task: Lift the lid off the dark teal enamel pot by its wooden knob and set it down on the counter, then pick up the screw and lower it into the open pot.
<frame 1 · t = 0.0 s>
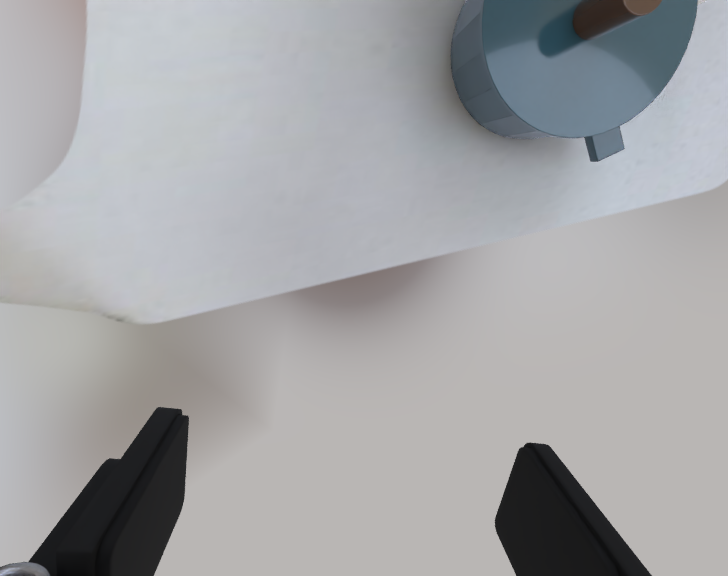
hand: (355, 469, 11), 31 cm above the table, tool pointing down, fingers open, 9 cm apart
pot: (529, 52, 37), on the table
lid: (586, 21, 29), point 8 cm above the table, touching pot
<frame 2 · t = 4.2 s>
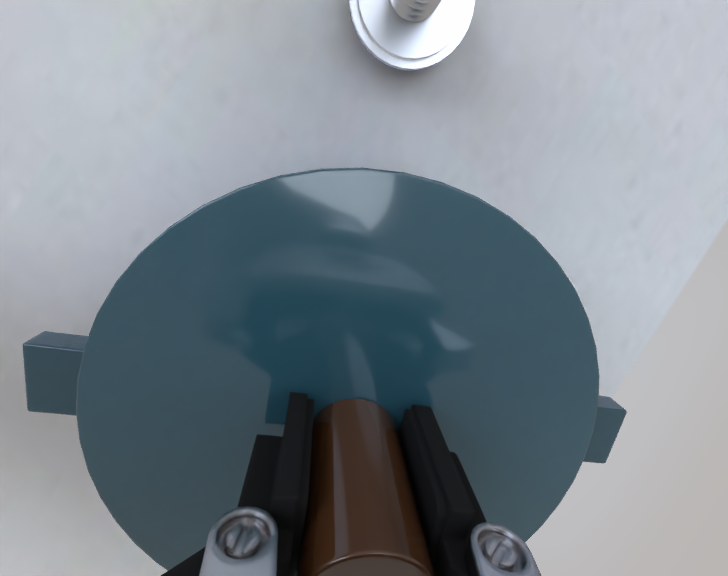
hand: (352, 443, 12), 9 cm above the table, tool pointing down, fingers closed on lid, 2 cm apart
pot: (342, 324, 21), on the table
lid: (351, 424, 13), point 9 cm above the table, touching gripper, pot
screw: (402, 18, 17), on the table
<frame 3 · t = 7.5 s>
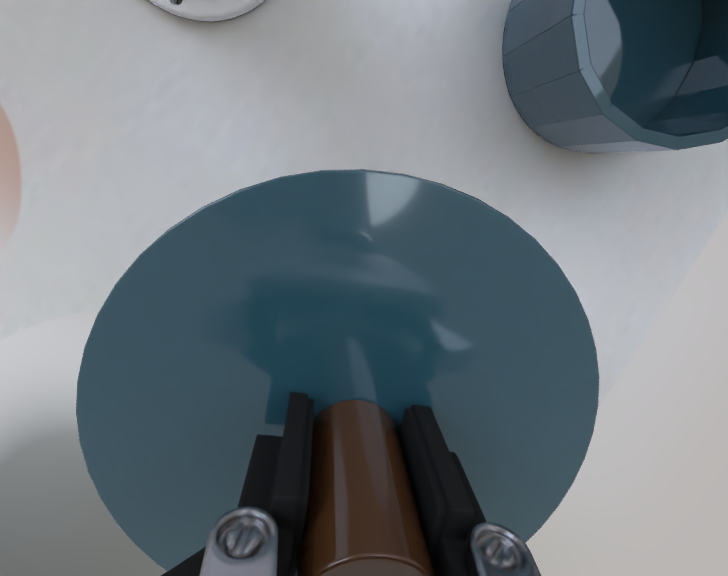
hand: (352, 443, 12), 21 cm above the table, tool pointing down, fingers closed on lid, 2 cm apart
pot: (604, 41, 28), on the table
lid: (351, 425, 13), point 20 cm above the table, touching gripper
when the fingers open (1 cm above the table, at t = 11.2 s): lid stays where it is, point 1 cm above the table.
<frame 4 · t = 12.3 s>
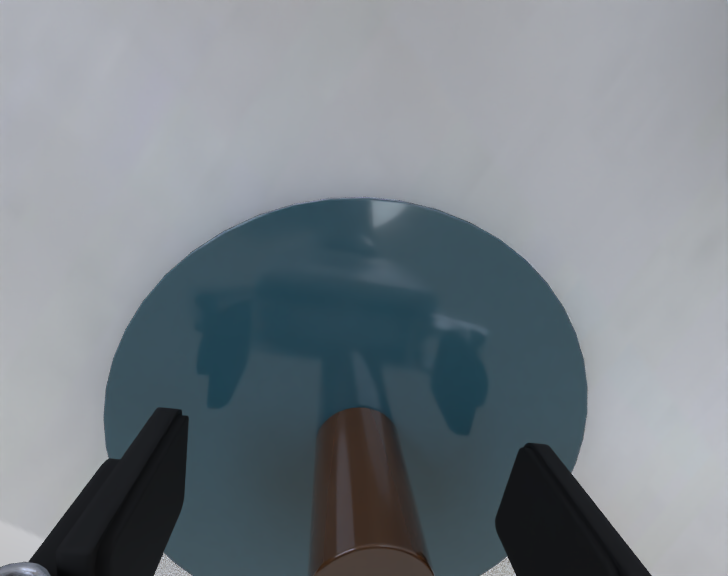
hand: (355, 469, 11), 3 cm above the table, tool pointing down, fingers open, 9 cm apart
lid: (356, 431, 14), point 1 cm above the table
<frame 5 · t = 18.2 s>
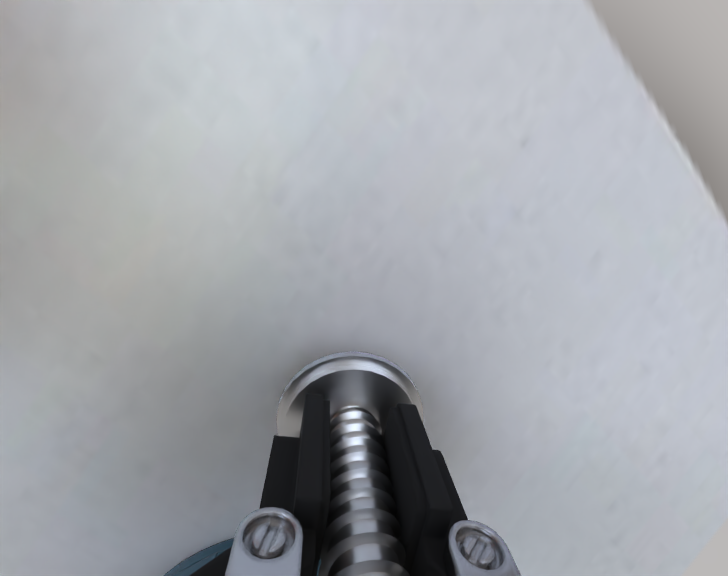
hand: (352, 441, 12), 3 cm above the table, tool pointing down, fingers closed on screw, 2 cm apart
screw: (347, 385, 15), on the table, touching gripper
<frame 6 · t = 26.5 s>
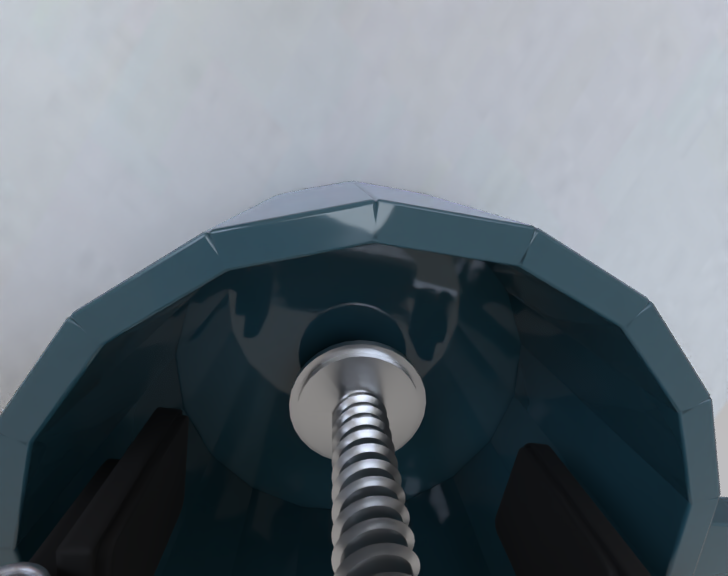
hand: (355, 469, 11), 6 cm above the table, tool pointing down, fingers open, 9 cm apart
pot: (353, 369, 16), on the table
screw: (354, 373, 16), resting on pot
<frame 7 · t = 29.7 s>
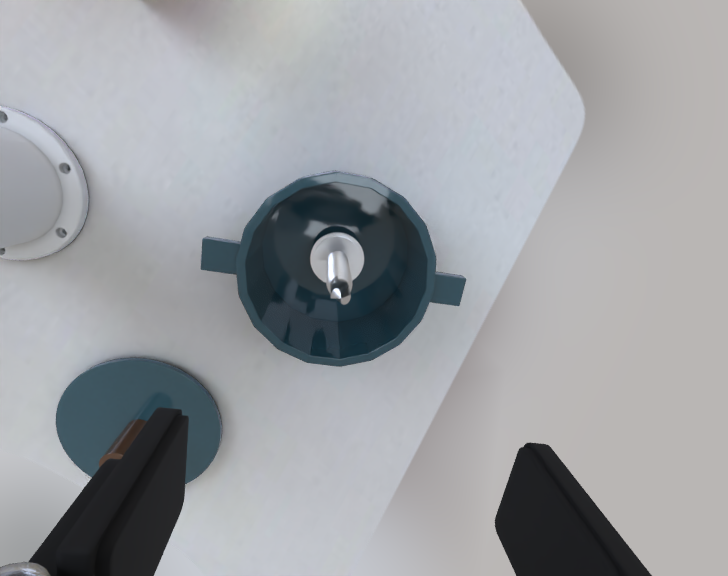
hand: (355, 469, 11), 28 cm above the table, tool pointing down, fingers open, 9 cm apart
pot: (336, 252, 38), on the table
lid: (142, 426, 41), point 1 cm above the table
screw: (336, 253, 38), resting on pot
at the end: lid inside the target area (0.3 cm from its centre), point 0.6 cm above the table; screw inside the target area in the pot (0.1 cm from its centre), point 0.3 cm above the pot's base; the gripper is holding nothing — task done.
